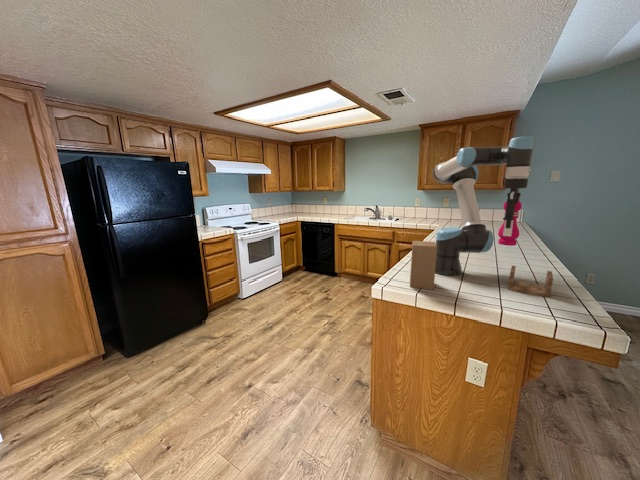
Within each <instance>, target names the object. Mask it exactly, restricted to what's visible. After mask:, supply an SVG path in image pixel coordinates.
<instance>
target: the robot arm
mask: <svg viewBox="0 0 640 480" xmlns="http://www.w3.org/2000/svg"><path fill="white" fill-rule="evenodd" d="M534 140H535V139H534V137H533V136H530V135H529V136H528V135H527V136H526V135H525V136H517V137H513V138H511V139H510V140H509V144H508V145H505V146H481V147H479V146H468V147H462V148H460V149H459V150H458V152H457V154H456V156H454V157H452V158H450V159H448V160H447V161H443V162H440V163H438V164H436V165H435V166H434V168H433V169H432V178H433V179H434V181H436V182H437V183H441V184H443V185H445V184H446V185H449V184H451V185H452V188H453V190H455V191H456V195H457V203H458V207H459V211H460V218H461V222H462V227H458V226H457V227H453V226H450V227H443V228H440V229H438V231H437V233H436V237H435V239H436V240H435V243H436V246H437V256H436V267H435V274H437V275H442V276H451V277H452V276H453V277H454V276H460V275H461V274H462V271H463V270H462V269H463V268H462V265H461V261H460V254H461V253H466V254H467V253H470V254H473V253H474V254H475V253H476V254H480V253H481V254H483V253H487V252H489V251H490V250H491V249H492V247H493V245H494V239H495V237H494V233H493V232H492V231H491V230H489V229H487V227H486V224H485V223H482V219H481V216H480V210H479V206H478V205H479V204H478V202H477V198H476V192H475V188H474V185H475V184H476V183H477V180H478V178H479V174H480V173H479V168H478V166H496V167H497V166H503V165H504V166H505V165H506V167H505V174H504V178H505V179H504V181H503V182H504V183H503V189H509V192H507V199H506V201H507V207H506V213H505V215H504V217H503V218H502V220H503V221H504V220H505V224H504V231H503V236H511V234H512V227H513V217H514V211H515V205H516V204H517V203H518V201H519V202H520V197H521V196H522V195H521V192H520V189H527V187H528V183H529V182H528V181H529V179H528V177H529V176H530V175H529V174H530V173H529V172H532V168H530V167H531V164H532V162H531V161H532V157H533V156H532V155H533V150H534ZM518 218H519V216H517V219H518Z"/></svg>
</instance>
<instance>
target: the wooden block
mask: <svg viewBox="0 0 640 480" xmlns="http://www.w3.org/2000/svg"><path fill="white" fill-rule="evenodd" d="M436 256H437V246H436V241H425V240H421V241H420V240H413V241H412V244H411V260H410V276H409V287H410V288H415V289H424V290H431V291H432V290H434V287H435V279H436V276H435V275H436V273H435V267H436Z"/></svg>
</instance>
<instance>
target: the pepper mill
mask: <svg viewBox="0 0 640 480" xmlns="http://www.w3.org/2000/svg"><path fill="white" fill-rule="evenodd" d="M522 206H523V205H522V203H521V201H520V200H519V201H518V203H517V204H516V205H515V211H514V217H513V227H512V234H511V236H503V231H504V224H505V220H503V223H502V225H501V226H500V228H499V229H498V230H497V231H498V232H497V235H498V237H499V239H498V243H497V244H499V245H503V246H511V247H513V246H516V245H517V244H518V243H517V242H518V241H517V239H518V238H519V237H520V229H519V226H518V223H517V219H518V218H517V216H518V217H519V216H520V212H519V211H521V210H522ZM502 207H503V210H504V212H503V215H504V216H505V213H506V207H507V200H506V201H505V202H504V204H503V206H502Z"/></svg>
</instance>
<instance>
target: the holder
mask: <svg viewBox="0 0 640 480" xmlns="http://www.w3.org/2000/svg"><path fill="white" fill-rule="evenodd" d="M516 268H517V267H516V265H511V268H510V271H509V272H510V273H509V279H508V286H507V290H510V291H514V292H519V293H524V294H528V295H529V294H530V295H534V296H540V297H543V298H544V297H545V298H551V297H550V296H551V293H552V287H553V283H554V277H553V276H554V275H553V271H550V270H547V272H546V277H545V278H546V279H545V284H544V285H541V284H536V283H531V282H526V281H519V280H515V275H516V274H515V273H516Z"/></svg>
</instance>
